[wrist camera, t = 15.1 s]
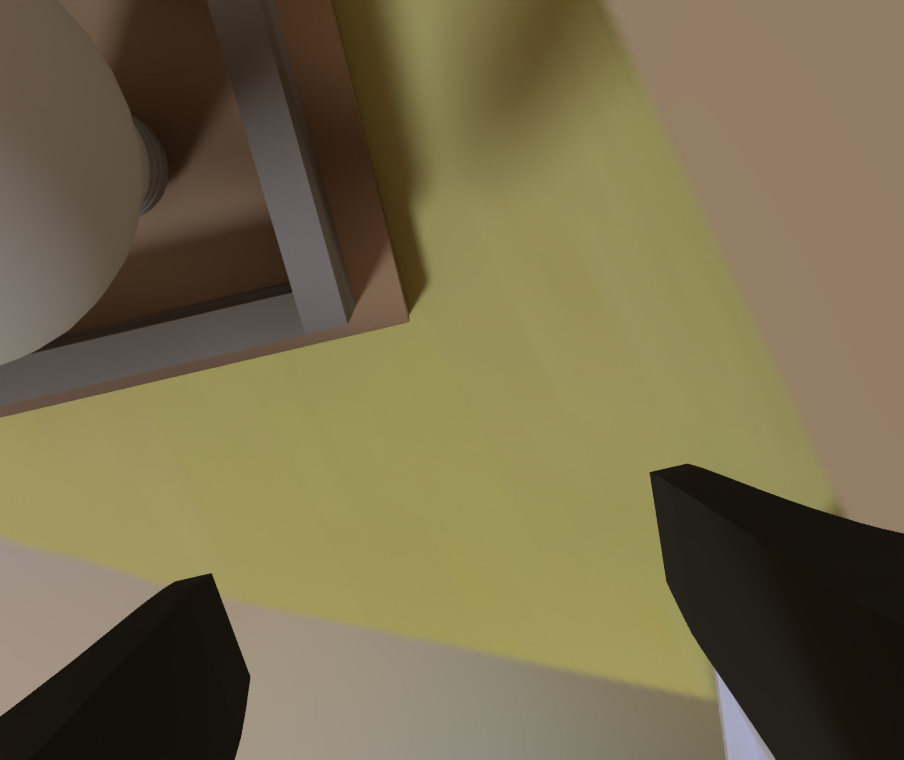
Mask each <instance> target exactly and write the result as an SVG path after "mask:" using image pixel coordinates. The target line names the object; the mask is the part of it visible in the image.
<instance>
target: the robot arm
mask: <svg viewBox="0 0 904 760" xmlns="http://www.w3.org/2000/svg"><path fill="white" fill-rule="evenodd" d="M650 478H651V484H652V491H653V497H654V504H655V510H656V517H657V523H658V530H659V536H660V543H661V549H662V556H663V562H664V569H665V575H666V581H667V584H668V586H669V588H670V590H671V592H672V594H673V596H674V598H675V601H676V603H677V605H678V607H679V609H680V611H681V613H682V615H683V617H684V619H685V621H686V623H687V625H688V627H689V629H690V631H691V633H692V635H693V636H694V638H695V639H696V641H697V642H698V644H699V645H700V647H701V649H702V650H703V652H704V653H705V655H706V656H707V658H708V659H709V661H710V662H711V664H712V665H713V670H714V677H715V684H716V692H717V699H718V706H719V713H720V721H721V727H722V735H723V742H724V750H725V757H726V760H904V534H903V533H898V532H894V531H890V530H886V529H881V528H877V527H874V526H870V525H866V524H862V523H859V522H855V521H852V520H849V519H845V518H842V517H839V516H836V515H832V514H829V513H826V512H823V511H819V510H816V509H813V508H810V507H807V506H804V505H801V504H798V503H795V502H792V501H790V500H787V499H784V498H781V497H778V496H776V495H773V494H770V493H767V492H765V491H762V490H759V489H757V488H754V487H751V486H749V485H746V484H744V483H741V482H738V481H736V480H733V479H731V478H728V477H725V476H723V475H720V474H717V473H715V472H712V471H709V470H706V469H704V468H701V467H698V466H694V465H690V464H683V465H679V466H675V467H670V468H666V469H662V470H657V471H653V472H650ZM249 684H250V674H249V672H248V669H247V667H246V664H245V661H244V658H243V656H242V653H241V650H240V648H239V645H238V642H237V640H236V637H235V634H234V632H233V629H232V626H231V624H230V621H229V618H228V616H227V613H226V611H225V608H224V605H223V602H222V600H221V597H220V594H219V592H218V589H217V586H216V584H215V581H214V578H213V576H212V573H210V574H206V575H201V576H197V577H193V578H188V579H184V580H180V581H175V582H174V583H172V584H170V585H169V586H167V587H165V588H164V589H162V590H161V591H160V592H159V593H157V594H156V595H154V596H153V597H151V598H150V599H149V600H147V601H146V602H145V603H144V604H142V605H141V606H140V607H138V608H137V609H136V610H135V611H134V612H132V613H131V614H130V615H129V616H128V617H126V618H125V619H124V620H122V621H121V622H120V623H119V624H118V625H116V626H115V627H114V628H113V629H111V630H110V631H109V632H108V633H106V634H105V635H104V636H103V637H101V638H100V639H99V640H98V641H97V642H95V643H94V644H93V645H92V646H91V647H89V648H88V649H87V650H86V651H84V652H83V653H82V654H81V655H79V656H78V657H77V658H76V659H75V660H73V661H72V662H71V663H70V664H68V665H67V666H66V667H64V668H63V669H62V670H60V671H59V672H58V673H57V674H55V675H54V676H53V677H51V678H50V679H49V680H47V681H46V682H45V683H44V684H42V685H41V686H40V687H38V688H37V689H36V690H34V691H33V692H32V693H31V694H30V695H28V696H27V697H25V698H24V699H23V700H21V701H20V702H19V703H18V704H16V705H15V706H14V707H12V708H11V709H10V710H8V711H7V712H6V713H5V714H3V715H2V716H0V760H235V757H236V753H237V750H238V746H239V742H240V739H241V734H242V729H243V723H244V717H245V712H246V705H247V697H248V691H249Z"/></svg>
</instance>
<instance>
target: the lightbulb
mask: <svg viewBox="0 0 904 760" xmlns="http://www.w3.org/2000/svg"><path fill="white" fill-rule="evenodd" d="M168 175H169V173H168V161H167V157H166V153H165V150H164V148H163V146H162V144H161V142H160V140H159V139H158V137H157V136H156V134H155V133H154V132H153V131H152V130H151V128H150V127H149V126H148V125H147V124H146V123H144V122H143V121H141V120H140V119H139V118H137V117H136V116H133V115H131V113H130V109H129V107H128V105H127V103H126V100H125V98H124V96H123V94H122V92H121V89H120V87H119V85H118V83H117V81H116V78H115V76H114V74H113V72H112V70H111V68H110V67H109V65H108V64H107V62H106V61H105V59H104V58H103V56H102V55H101V53H100V52H99V51H98V49H97V48H96V46H95V45H94V43H93V42H92V40H91V39H90V37H89V36H88V34H87V33H86V32H85V30H84V29H83V28H82V27H81V26H80V25H79V23H78V22H77V21H76V20H75V19H74V17H73V16H72V15H71V14H70V13H69V12H68V11H67V10H66V9H65V8H64V7H63V6H62V5H61V4H60V3H59V1H58V0H0V365H3V364H6V363H8V362H11V361H14V360H17V359H19V358H21V357H23V356H25V355H28V354H30V353H32V352H34V351H36V350H38V349H40V348H41V347H43V346H45V345H46V344H48V343H49V342H51V341H52V340H54V339H56V338H57V337H59V336H60V335H62V334H64V333H65V332H67V331H68V330H70V329H71V328H72V327H73V326H74V325H75V324H76V323H77V322H78V321H79V320H80V319H81V318H82V317H83V316H84V315H85V314H86V313H87V312H88V311H89V310H90V309H91V308H92V307H93V306H94V305H95V304H96V303H97V302H98V300H99V299H100V298H101V297H102V295H103V294H104V293H105V291H106V290H107V289H108V287H109V286H110V284H111V282H112V281H113V279H114V278H115V276H116V275H117V273H118V271H119V270H120V268H121V267H122V265H123V263H124V262H125V260H126V257H127V255H128V252H129V249H130V246H131V243H132V241H133V238H134V235H135V232H136V230H137V227H138V219H139V216H141V215H144V214H145V213H147V212H148V211H150V210H151V209H152V208H153V207H154V206H155V205H156V204H157V203H158V202H159V201H160V199H161V197H162V196H163V194H164V192H165V189H166V186H167V182H168Z"/></svg>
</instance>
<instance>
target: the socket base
mask: <svg viewBox="0 0 904 760" xmlns="http://www.w3.org/2000/svg"><path fill="white" fill-rule="evenodd" d="M58 1H59V3H60V4H61V5H62V6H63V7H64V8H65V9H66V10H67V11H68V12H69V13H70V14H71V15H72V16H73V17H74V19H75V20H76V21H77V22H78V23H79V25H80V26H81V27H82V28H83V29H84V30H85V32H86V33H87V34H88V36H89V37H90V39H91V40H92V42H93V43H94V45H95V46H96V48H97V49H98V51H99V52H100V53H101V55H102V56H103V58H104V59H105V61H106V62H107V64H108V65H109V67H110V68H111V70H112V72H113V74H114V76H115V78H116V81H117V83H118V85H119V87H120V89H121V92H122V94H123V96H124V98H125V100H126V103H127V105H128V107H129V109H130V113H131V115H133V116H136V117H137V118H139V119H140V120H141V121H143V122H144V123H146V124H147V125H148V126H149V127H150V128H151V130H152V131H153V132H154V133H155V134H156V136H157V137H158V139H159V140H160V142H161V144H162V146H163V148H164V150H165V153H166V157H167V161H168V173H169V175H168V182H167V186H166V189H165V192H164V194H163V196H162V197H161V199H160V201H159V202H158V203H157V204H156V205H155V206H154V207H153V208H152V209H151V210H150V211H148V212H147V213H145V214H144V215H141V216H139V219H138V227H137V230H136V232H135V235H134V238H133V241H132V243H131V246H130V249H129V252H128V255H127V257H126V260H125V262H124V263H123V265H122V267H121V268H120V270H119V271H118V273H117V275H116V276H115V278H114V279H113V281H112V282H111V284H110V286H109V287H108V289H107V290H106V291H105V293H104V294H103V295H102V297H101V298H100V299H99V300H98V302H97V303H96V304H95V305H94V306H93V307H92V308H91V309H90V310H89V311H88V312H87V313H86V314H85V315H84V316H83V317H82V318H81V319H80V320H79V321H78V322H77V323H76V324H75V325H74V326H73V327H72V328H71V329H70V330H68V331H67V332H65V333H64V334H62V335H60V336H59V337H57V338H56V339H54V340H52V341H51V342H49V343H48V344H46V345H45V346H43V347H41V348H40V349H38V350H36V351H34V352H32V353H30V354H28V355H25V356H23V357H21V358H19V359H17V360H14V361H11V362H8V363H6V364H3V365H0V417H4V416H9V415H13V414H17V413H22V412H26V411H30V410H34V409H39V408H43V407H47V406H52V405H56V404H60V403H64V402H69V401H73V400H77V399H82V398H86V397H90V396H94V395H99V394H103V393H107V392H112V391H116V390H120V389H124V388H129V387H133V386H137V385H142V384H146V383H150V382H154V381H159V380H163V379H167V378H172V377H176V376H180V375H184V374H189V373H193V372H197V371H202V370H206V369H210V368H214V367H219V366H223V365H227V364H232V363H236V362H240V361H244V360H249V359H253V358H257V357H261V356H266V355H270V354H274V353H279V352H283V351H287V350H291V349H296V348H300V347H304V346H309V345H313V344H317V343H321V342H326V341H330V340H334V339H339V338H343V337H347V336H351V335H356V334H360V333H364V332H369V331H373V330H377V329H381V328H386V327H390V326H394V325H399V324H403V323H407V322H409V311H408V307H407V303H406V299H405V295H404V291H403V287H402V283H401V279H400V275H399V271H398V267H397V262H396V258H395V254H394V250H393V246H392V242H391V238H390V234H389V230H388V226H387V222H386V218H385V214H384V210H383V206H382V202H381V198H380V194H379V190H378V186H377V182H376V178H375V174H374V169H373V165H372V161H371V157H370V153H369V149H368V145H367V141H366V137H365V133H364V129H363V125H362V121H361V117H360V113H359V109H358V105H357V101H356V97H355V93H354V89H353V85H352V81H351V77H350V72H349V68H348V64H347V60H346V56H345V52H344V48H343V44H342V40H341V36H340V32H339V28H338V24H337V20H336V16H335V12H334V8H333V4H332V0H58Z"/></svg>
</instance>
